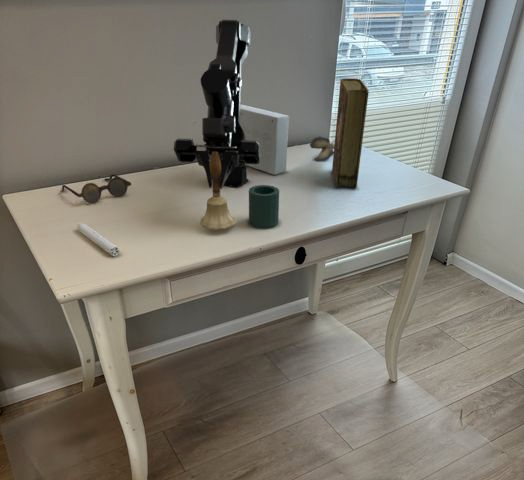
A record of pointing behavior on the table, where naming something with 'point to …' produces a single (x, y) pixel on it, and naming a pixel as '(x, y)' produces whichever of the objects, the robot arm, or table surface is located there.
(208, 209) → the hand bell
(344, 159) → the book
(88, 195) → the eyeglasses
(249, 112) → the skincare box
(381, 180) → the table surface
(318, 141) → the open clam shell
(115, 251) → the white cylindrical rod
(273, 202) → the jar
